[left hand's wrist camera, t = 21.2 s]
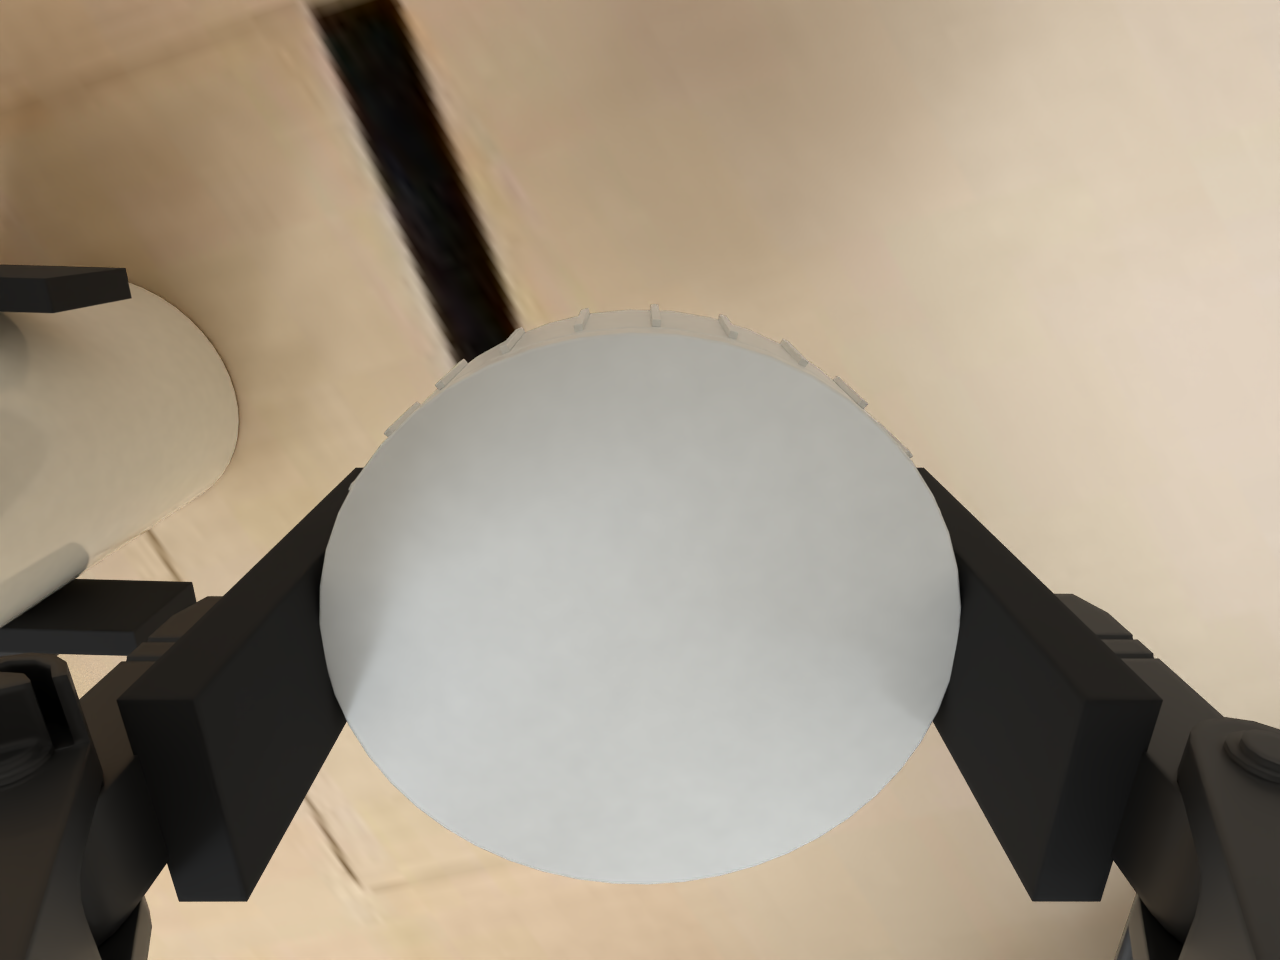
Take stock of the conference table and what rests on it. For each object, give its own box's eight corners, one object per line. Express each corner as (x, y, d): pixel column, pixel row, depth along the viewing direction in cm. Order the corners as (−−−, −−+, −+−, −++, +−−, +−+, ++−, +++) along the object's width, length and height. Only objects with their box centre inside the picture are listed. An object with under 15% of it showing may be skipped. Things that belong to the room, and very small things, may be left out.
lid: (370, 778, 13) (329, 867, 12) (349, 271, 10) (288, 287, 8) (854, 815, 14) (885, 907, 12) (982, 336, 10) (1051, 365, 9)
